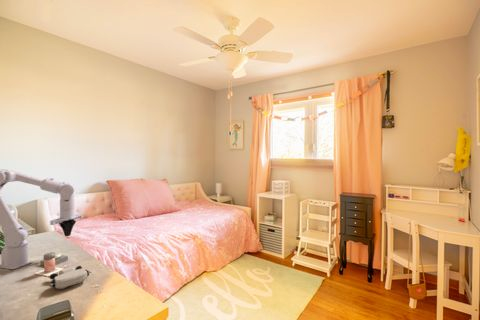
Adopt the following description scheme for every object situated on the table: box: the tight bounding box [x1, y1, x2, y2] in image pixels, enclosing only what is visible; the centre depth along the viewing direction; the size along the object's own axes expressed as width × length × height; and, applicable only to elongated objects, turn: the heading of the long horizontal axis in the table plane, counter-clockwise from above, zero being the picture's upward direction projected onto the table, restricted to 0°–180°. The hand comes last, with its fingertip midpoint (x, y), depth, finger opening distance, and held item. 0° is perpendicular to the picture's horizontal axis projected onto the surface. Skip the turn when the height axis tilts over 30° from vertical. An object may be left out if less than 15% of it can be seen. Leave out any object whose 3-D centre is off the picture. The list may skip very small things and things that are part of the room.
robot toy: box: [47, 265, 93, 290], centre depth 89 cm, size 12×4×15 cm
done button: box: [55, 252, 62, 259], centre depth 106 cm, size 5×5×3 cm
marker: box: [43, 251, 56, 273], centre depth 97 cm, size 4×4×7 cm
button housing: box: [40, 254, 69, 266], centre depth 106 cm, size 7×7×2 cm
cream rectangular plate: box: [34, 266, 64, 278], centre depth 98 cm, size 8×6×1 cm
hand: (67, 235), depth 114 cm, fingers closed
